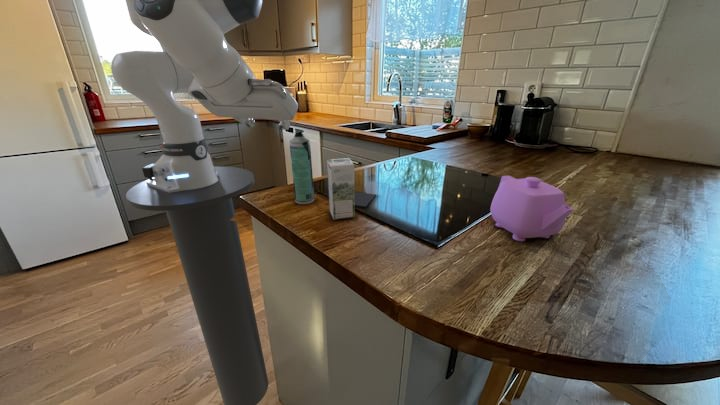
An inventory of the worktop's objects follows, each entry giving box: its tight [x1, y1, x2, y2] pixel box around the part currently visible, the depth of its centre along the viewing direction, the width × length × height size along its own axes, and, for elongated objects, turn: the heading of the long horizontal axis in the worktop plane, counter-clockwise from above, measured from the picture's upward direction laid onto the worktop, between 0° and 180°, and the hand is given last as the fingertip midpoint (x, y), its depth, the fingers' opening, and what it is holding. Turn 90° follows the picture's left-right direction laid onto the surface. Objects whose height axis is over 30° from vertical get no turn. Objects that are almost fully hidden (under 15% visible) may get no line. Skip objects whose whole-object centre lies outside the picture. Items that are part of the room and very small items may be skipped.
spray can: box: [288, 130, 315, 205], centre depth 82 cm, size 6×6×20 cm
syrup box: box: [326, 157, 356, 221], centre depth 75 cm, size 6×6×14 cm
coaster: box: [354, 191, 377, 209], centre depth 86 cm, size 9×9×1 cm
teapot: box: [489, 174, 574, 242], centre depth 66 cm, size 20×12×13 cm, turn 12°
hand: (268, 126), depth 67 cm, fingers open, 8 cm apart
